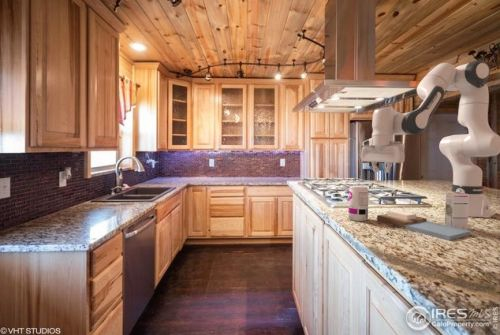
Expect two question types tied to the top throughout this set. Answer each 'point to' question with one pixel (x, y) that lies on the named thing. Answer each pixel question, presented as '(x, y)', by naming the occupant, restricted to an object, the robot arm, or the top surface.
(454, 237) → the mat
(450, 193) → the syrup box
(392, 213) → the cream rectangular block
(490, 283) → the top surface
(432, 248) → the top surface
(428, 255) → the top surface
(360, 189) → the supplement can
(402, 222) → the brown square tile
